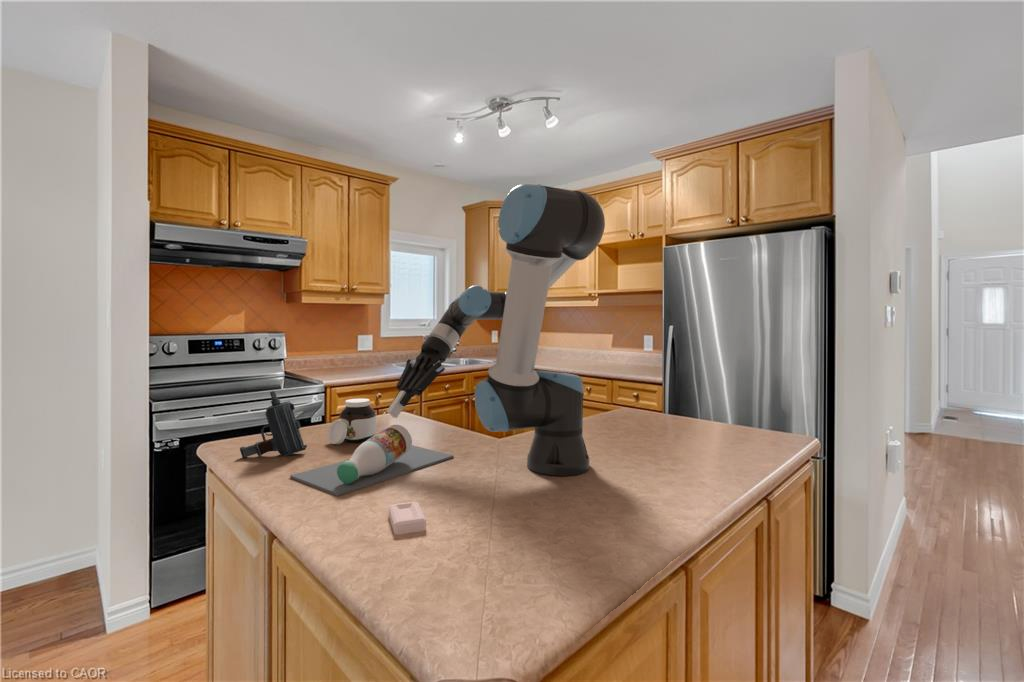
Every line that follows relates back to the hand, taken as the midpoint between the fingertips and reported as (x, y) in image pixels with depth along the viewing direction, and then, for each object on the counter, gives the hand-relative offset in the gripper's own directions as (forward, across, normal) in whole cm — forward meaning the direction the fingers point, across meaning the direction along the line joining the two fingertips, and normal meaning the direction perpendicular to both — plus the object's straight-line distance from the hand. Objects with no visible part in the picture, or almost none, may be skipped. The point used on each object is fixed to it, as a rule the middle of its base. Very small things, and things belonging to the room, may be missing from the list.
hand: (391, 414), depth 124 cm
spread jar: (+5, +25, -12) cm, 28 cm away
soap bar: (+24, -30, +6) cm, 39 cm away
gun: (+20, +28, +2) cm, 34 cm away
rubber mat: (+12, -1, -5) cm, 13 cm away
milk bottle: (+3, -2, -5) cm, 6 cm away
